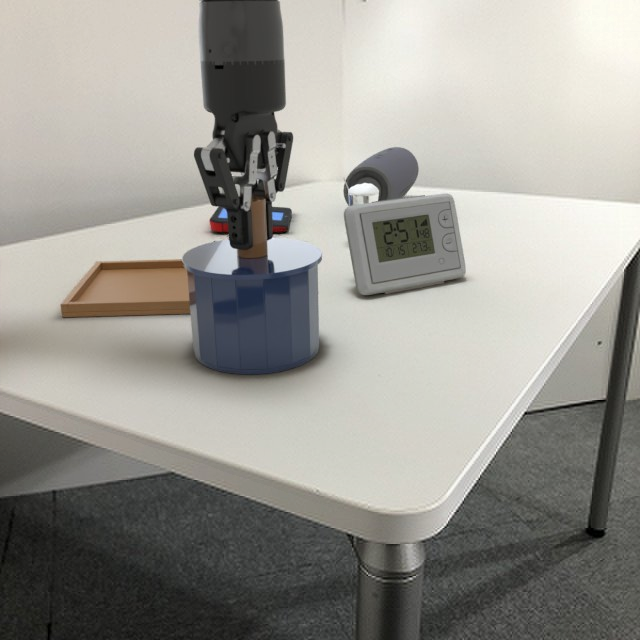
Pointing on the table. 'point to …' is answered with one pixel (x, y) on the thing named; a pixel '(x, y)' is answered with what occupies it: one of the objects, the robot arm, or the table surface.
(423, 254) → the digital clock
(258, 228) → the pot lid
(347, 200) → the bluetooth speaker
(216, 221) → the game console
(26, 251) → the table surface
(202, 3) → the robot arm
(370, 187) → the milkshake
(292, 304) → the pot
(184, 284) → the wooden tray
